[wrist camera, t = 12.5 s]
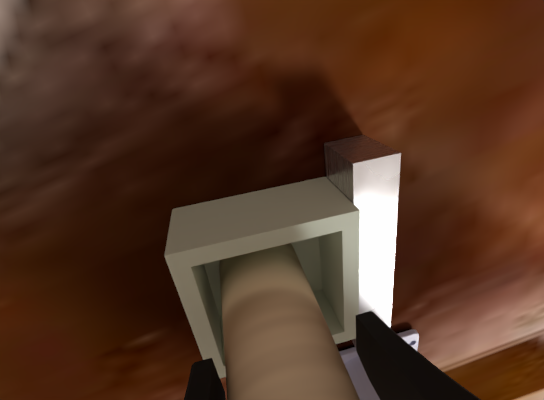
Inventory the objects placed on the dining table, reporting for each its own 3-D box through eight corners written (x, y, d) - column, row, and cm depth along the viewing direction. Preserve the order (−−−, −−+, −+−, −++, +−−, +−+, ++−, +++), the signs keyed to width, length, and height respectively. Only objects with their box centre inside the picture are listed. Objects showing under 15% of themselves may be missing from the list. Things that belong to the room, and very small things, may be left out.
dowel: (298, 283, 17) (366, 455, 10) (227, 300, 16) (244, 494, 9) (292, 223, 15) (370, 384, 8) (211, 241, 14) (216, 429, 7)
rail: (363, 300, 19) (389, 339, 17) (334, 308, 19) (356, 349, 16) (363, 134, 14) (400, 152, 12) (323, 143, 14) (353, 163, 11)
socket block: (328, 284, 19) (358, 337, 15) (208, 315, 18) (211, 381, 14) (322, 173, 15) (360, 210, 12) (172, 205, 14) (164, 255, 11)
